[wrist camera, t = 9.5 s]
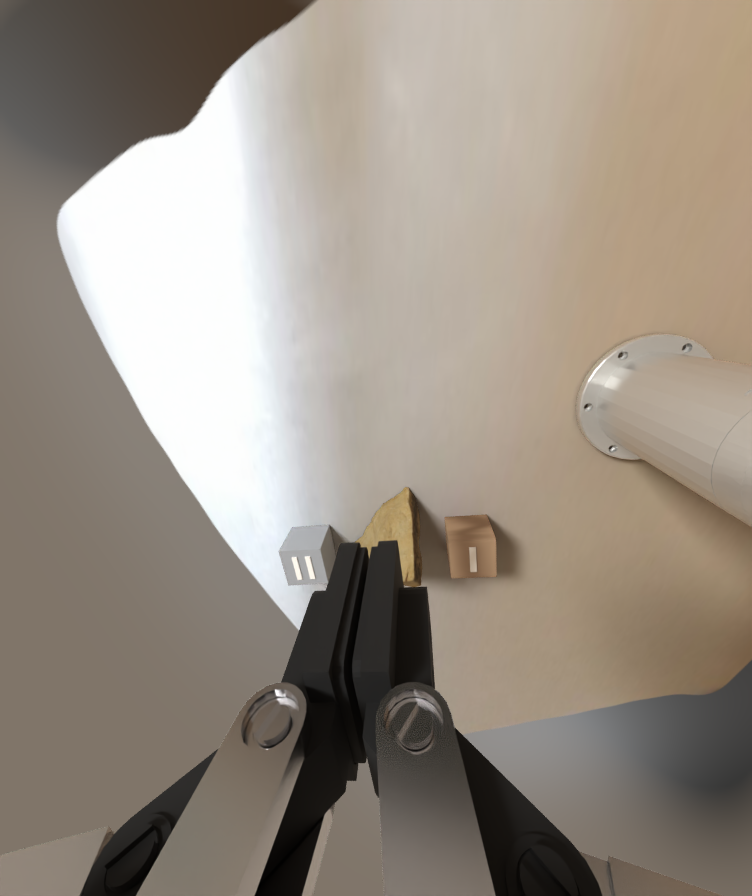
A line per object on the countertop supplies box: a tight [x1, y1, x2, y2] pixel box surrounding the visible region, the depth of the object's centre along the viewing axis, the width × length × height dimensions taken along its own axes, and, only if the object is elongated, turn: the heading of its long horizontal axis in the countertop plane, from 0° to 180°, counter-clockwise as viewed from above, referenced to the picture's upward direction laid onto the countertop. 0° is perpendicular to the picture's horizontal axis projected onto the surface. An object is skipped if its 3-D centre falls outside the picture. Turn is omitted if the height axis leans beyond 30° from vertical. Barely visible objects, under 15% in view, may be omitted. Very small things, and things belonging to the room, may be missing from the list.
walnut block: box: [445, 515, 497, 578], centre depth 41 cm, size 5×5×5 cm
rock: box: [355, 487, 422, 587], centre depth 41 cm, size 11×9×10 cm
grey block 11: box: [279, 525, 336, 585], centre depth 43 cm, size 5×5×5 cm
